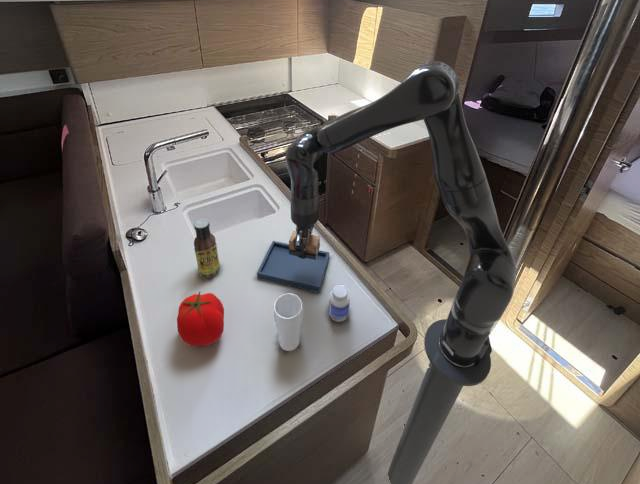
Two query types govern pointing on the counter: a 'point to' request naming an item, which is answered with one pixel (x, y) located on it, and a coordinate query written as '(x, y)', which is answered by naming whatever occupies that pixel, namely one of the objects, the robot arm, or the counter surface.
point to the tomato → (200, 319)
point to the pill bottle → (339, 303)
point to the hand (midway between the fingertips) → (304, 249)
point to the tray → (293, 268)
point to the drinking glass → (288, 320)
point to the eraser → (311, 246)
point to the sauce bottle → (206, 249)
